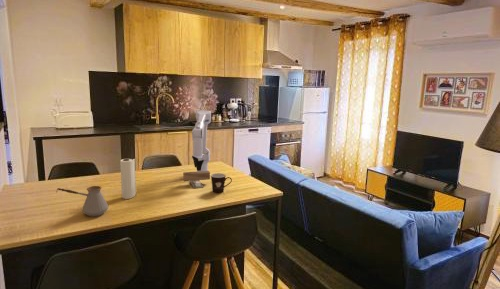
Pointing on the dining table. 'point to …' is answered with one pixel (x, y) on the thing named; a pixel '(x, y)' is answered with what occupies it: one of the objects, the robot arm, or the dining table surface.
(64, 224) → the dining table surface
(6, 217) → the dining table surface
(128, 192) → the paper towel roll
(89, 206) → the coffee pot
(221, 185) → the coffee mug
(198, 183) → the ridge
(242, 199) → the dining table surface
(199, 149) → the robot arm
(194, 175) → the walnut bar
